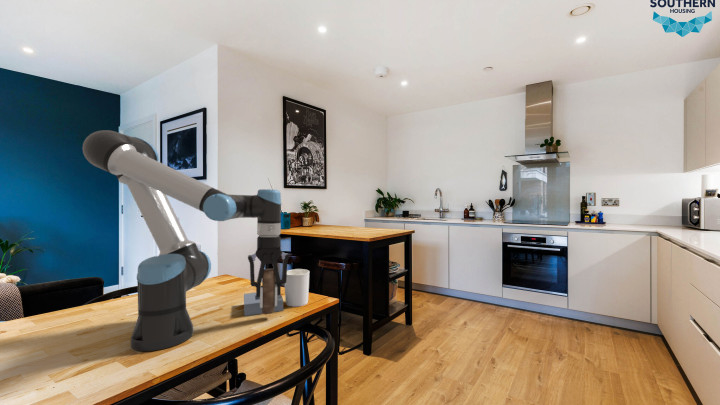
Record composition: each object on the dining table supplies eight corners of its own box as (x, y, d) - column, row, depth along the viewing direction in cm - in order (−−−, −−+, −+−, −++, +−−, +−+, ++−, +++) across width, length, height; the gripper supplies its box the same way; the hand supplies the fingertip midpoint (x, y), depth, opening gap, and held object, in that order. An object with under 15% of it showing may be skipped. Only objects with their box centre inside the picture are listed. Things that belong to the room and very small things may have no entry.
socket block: (244, 316, 106) (244, 304, 106) (243, 304, 118) (243, 293, 118) (283, 310, 111) (283, 299, 111) (278, 299, 123) (278, 289, 123)
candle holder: (307, 307, 114) (306, 275, 114) (280, 307, 114) (280, 275, 114) (312, 298, 124) (311, 268, 124) (287, 299, 124) (287, 269, 124)
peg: (262, 314, 101) (262, 271, 101) (261, 310, 105) (262, 269, 105) (275, 313, 103) (275, 270, 103) (273, 309, 106) (274, 268, 106)
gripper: (241, 237, 97) (241, 312, 97) (296, 236, 103) (295, 306, 103) (241, 235, 104) (241, 304, 104) (293, 233, 110) (292, 299, 110)
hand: (268, 305), depth 104 cm, fingers closed on peg, 4 cm apart
